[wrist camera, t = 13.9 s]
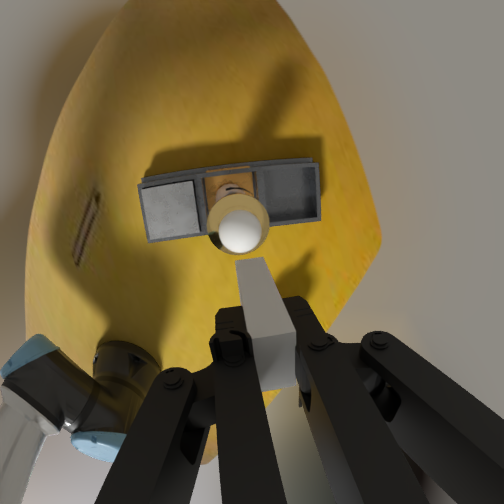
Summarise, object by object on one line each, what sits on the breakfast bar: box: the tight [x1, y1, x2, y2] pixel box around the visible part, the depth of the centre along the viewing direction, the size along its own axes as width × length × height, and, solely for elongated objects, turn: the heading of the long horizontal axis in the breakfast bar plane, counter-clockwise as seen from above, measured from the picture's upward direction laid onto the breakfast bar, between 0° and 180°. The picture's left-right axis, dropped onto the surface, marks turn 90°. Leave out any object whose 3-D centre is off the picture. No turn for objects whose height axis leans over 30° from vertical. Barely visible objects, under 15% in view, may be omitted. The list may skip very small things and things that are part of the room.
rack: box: [137, 158, 321, 243], centre depth 38 cm, size 26×10×5 cm, turn 95°
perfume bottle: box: [207, 184, 270, 255], centre depth 30 cm, size 6×6×20 cm
